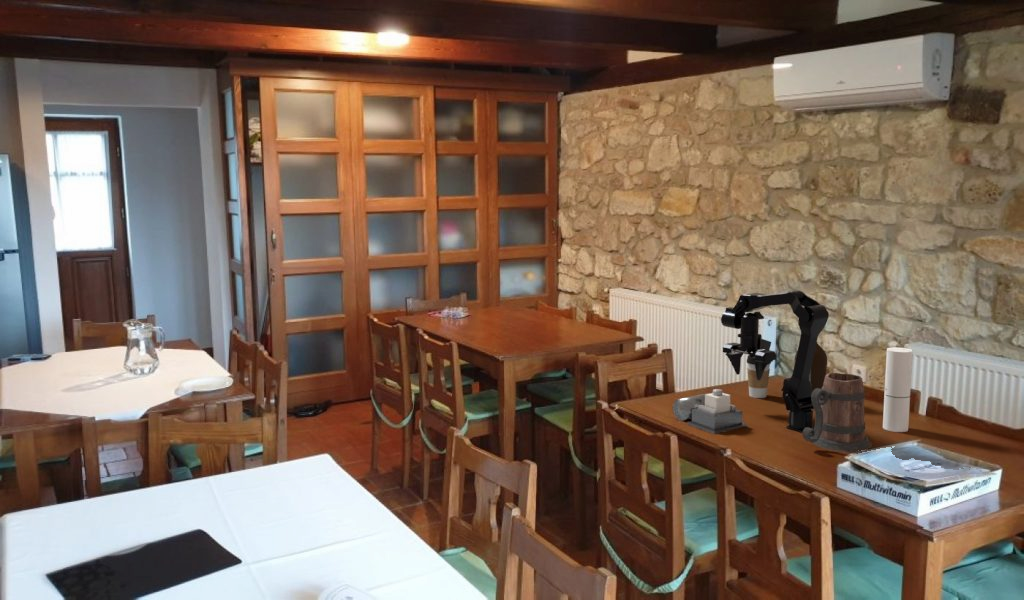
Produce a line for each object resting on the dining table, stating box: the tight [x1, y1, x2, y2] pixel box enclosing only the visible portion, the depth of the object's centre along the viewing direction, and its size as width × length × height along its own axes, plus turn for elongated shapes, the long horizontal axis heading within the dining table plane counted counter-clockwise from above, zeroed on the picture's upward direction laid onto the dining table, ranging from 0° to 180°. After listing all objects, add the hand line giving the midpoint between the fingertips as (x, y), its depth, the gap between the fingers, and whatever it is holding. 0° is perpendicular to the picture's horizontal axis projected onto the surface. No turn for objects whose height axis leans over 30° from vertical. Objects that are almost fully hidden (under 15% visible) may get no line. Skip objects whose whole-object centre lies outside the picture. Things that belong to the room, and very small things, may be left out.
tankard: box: [802, 372, 872, 453], centre depth 235 cm, size 24×17×20 cm
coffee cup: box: [746, 354, 772, 399], centre depth 288 cm, size 8×8×15 cm
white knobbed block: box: [704, 388, 731, 413], centre depth 255 cm, size 5×6×6 cm
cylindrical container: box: [882, 346, 914, 433], centre depth 248 cm, size 7×7×25 cm
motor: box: [672, 393, 748, 435], centre depth 259 cm, size 20×14×7 cm
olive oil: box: [794, 342, 828, 405], centre depth 279 cm, size 11×11×25 cm
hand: (748, 377), depth 268 cm, fingers open, 9 cm apart
